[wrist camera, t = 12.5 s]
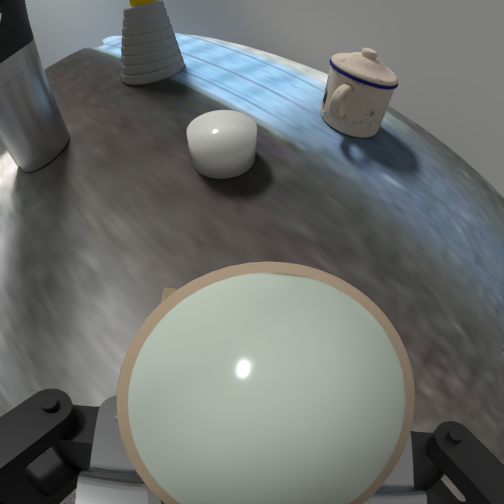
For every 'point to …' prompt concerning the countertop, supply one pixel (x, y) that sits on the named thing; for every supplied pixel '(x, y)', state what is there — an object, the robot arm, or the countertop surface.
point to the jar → (265, 391)
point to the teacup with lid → (357, 93)
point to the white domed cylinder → (222, 143)
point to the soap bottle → (148, 44)
